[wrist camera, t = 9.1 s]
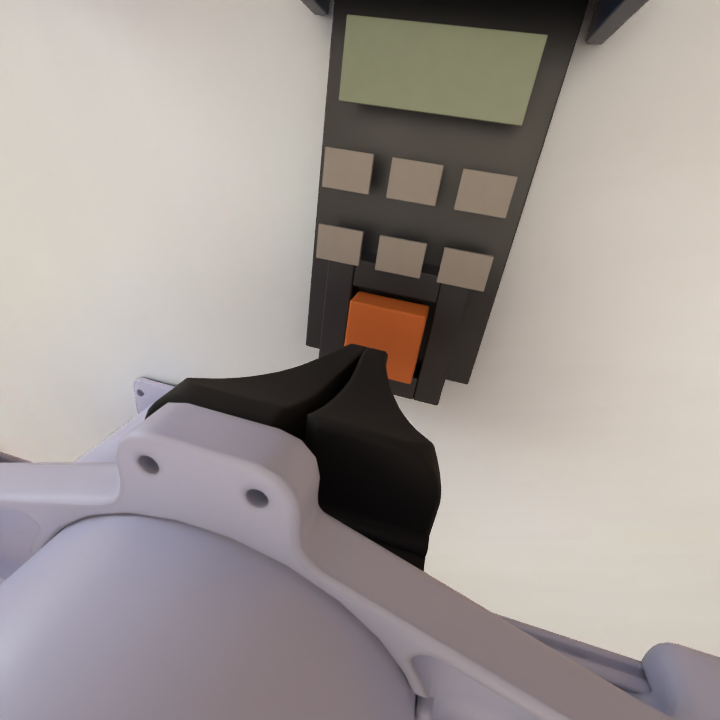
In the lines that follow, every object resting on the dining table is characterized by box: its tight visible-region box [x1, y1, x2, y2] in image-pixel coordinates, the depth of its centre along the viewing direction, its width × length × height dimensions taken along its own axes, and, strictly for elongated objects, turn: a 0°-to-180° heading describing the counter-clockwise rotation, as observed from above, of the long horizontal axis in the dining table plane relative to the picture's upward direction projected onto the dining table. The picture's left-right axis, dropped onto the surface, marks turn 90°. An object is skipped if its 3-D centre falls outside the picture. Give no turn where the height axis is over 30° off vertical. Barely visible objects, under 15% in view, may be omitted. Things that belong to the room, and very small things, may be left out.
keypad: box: [316, 14, 548, 292], centre depth 14 cm, size 8×7×1 cm
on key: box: [344, 291, 429, 384], centre depth 17 cm, size 3×3×2 cm
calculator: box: [306, 0, 589, 405], centre depth 16 cm, size 16×9×2 cm, turn 172°
